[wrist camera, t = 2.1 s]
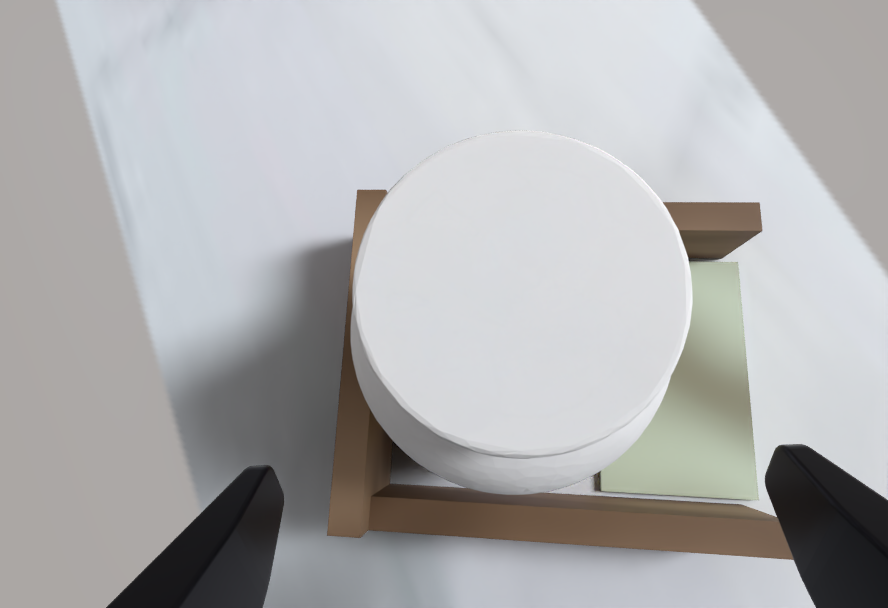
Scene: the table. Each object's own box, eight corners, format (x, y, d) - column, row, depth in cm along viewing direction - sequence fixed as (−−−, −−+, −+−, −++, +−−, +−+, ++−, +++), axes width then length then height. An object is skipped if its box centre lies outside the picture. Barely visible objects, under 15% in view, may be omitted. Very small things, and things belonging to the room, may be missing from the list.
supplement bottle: (380, 389, 19) (183, 344, 7) (474, 253, 20) (447, -4, 8) (527, 494, 18) (605, 667, 6) (620, 343, 19) (867, 206, 7)
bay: (758, 536, 17) (836, 571, 13) (361, 510, 19) (327, 535, 15) (733, 234, 19) (792, 189, 16) (382, 231, 21) (357, 189, 17)
